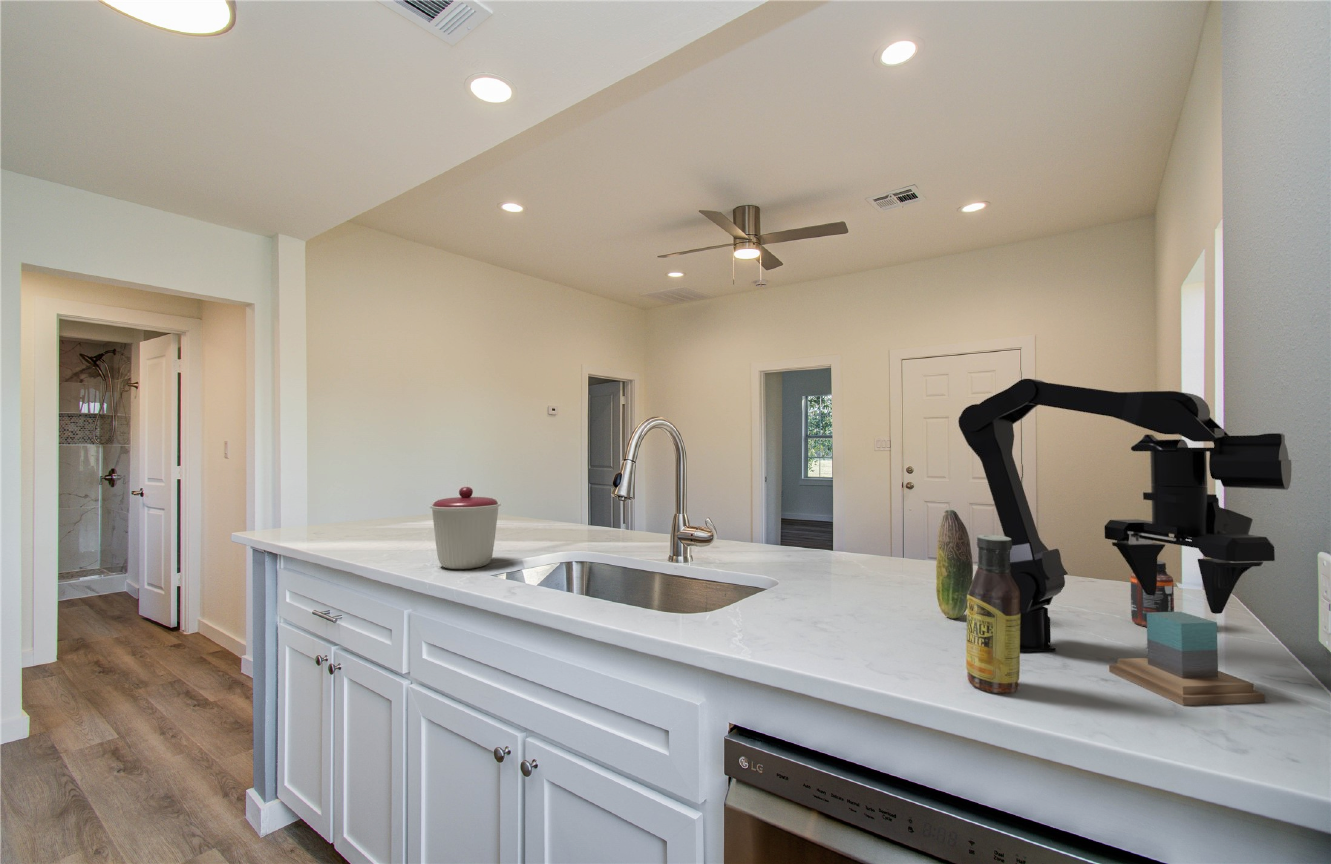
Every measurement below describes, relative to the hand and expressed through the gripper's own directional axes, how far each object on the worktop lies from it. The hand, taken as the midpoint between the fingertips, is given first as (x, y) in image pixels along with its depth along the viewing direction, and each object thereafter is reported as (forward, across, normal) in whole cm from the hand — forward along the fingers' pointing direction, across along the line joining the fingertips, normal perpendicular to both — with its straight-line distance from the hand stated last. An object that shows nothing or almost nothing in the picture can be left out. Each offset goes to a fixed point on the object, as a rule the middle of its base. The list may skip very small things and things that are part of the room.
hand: (1181, 603), depth 79 cm
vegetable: (+11, +33, +12) cm, 37 cm away
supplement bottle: (+11, +25, -20) cm, 34 cm away
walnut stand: (+11, 0, 0) cm, 11 cm away
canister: (+10, +91, +115) cm, 147 cm away
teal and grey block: (+9, 0, 0) cm, 9 cm away
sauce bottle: (+11, +2, +25) cm, 27 cm away
